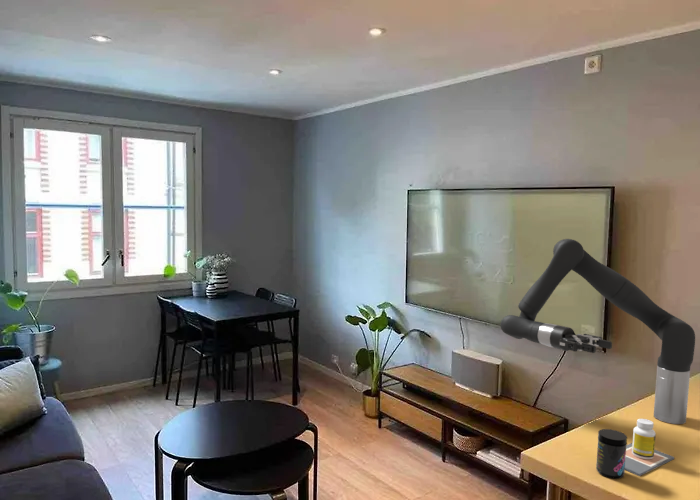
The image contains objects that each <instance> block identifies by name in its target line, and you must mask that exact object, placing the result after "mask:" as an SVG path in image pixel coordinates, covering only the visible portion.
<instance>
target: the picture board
mask: <svg viewBox="0 0 700 500" xmlns="http://www.w3.org/2000/svg"><path fill="white" fill-rule="evenodd" d="M673 460H675V456H672V455H670V454H668V453H666V452H665V453H664V452H662V451H660V450H657V449H655V448H654V457H653V459H641V458H638V457H636V456H634V455H633V454H632V442H630V443H627V444H626V459H625V471H626V472H629V473H631V474H633V475H635V476H638V477H641V476H643V475H645V474H647V473H650V472H651V471H653V470H655V469H657V468H659V467H662V466H663V465H665V464H667V463H669V462H671V461H673Z"/></svg>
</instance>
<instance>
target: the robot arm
mask: <svg viewBox="0 0 700 500" xmlns="http://www.w3.org/2000/svg"><path fill="white" fill-rule="evenodd" d="M552 252H553V256H552V258H551V260H550V262H549V264H548V266H547V268H546V269H545V270H544V271H543V272H542V274H541V275H540V277H538V278H537V280H536V281H535V282H534V283H533V284H532V285H531V286H530V287H529V289H528V290H527V292H526V293H525V294H524V296H523V297H522V298H521V300H520V301H519V303H518V305H517V308H518V309H519V311H520V313H519V315H513V314H508V315H505V316H504V317H503V318H502V319H501V321H500V325H499V326H500V329H501V330H502V332H503V333H504V334H505V335H508V336H510V337H512V338H514V339H517V340H521V339H525V340H528V341H529V342H533V343H537V344H541V345H543V346H546V347H549V348H551V349H552V348H553V349H556V350H561V351H565V352H567V351H572V352H576V353H577V352H583V351H584V352H587V353H591V354H595V353H596V352H597V351H596V350H597V348H598V347H600V348H604V349H608V350H610V349H612V347H613V342H612V341H609V340H605V339H603V337H602V336H598V335H593V334H587V333H583V334H581V333H577V334H576V333H575V330H574V329H573V328H571V327H568V326H563V325H561V324H560V325H559V324H553V323H546V322H541V321H536V318H537V315H538V314H539V312H540V311H541V310H542V308H543V307H544V306H545V304H546V303H547V301H548V300H549V298H550V297H551V296H552V294H553V292H554V291H555V290H556V289H557V287H558V286H559V285H560V283H561V282H562V281H563V280H564V278H566V276H567V275H568V274H569V273H570V272H571V271H573V272H575V273H576V274H578V275H579V276H581V278H583V279H584V280H585V281H586V282H587V283H588V284H590V285H591V287H593V288H594V289H595V290H596V291H597V292H598V293H599V294H600V295H602V296H603V298H605V299H606V301H608V302H610V303H611V304H612V305H614V307H617V308H618V309H620V310H622V311H623V312H624V313H626V314H628V315H630V316H632V317H633V318H635V319H637V320H639V321H640V322H641V323H643V324H644V325H646V327H647V328H649V329H650V330H651V331H652V332H653V333H654V334H655V335H656V336H657V337H658V338H659V339H660V340H661V349H660V351H661V352H660V355H659V357H657V364H656V365H657V366H656V378H655V393H654V405H653V417H654V418H655V419H656V420H659V421H660V422H664V423H668V424H674V425H682V424H685V423H687V416H688V415H687V413H688V400H689V388H690V376H691V365H692V364H693V361H694V356H695V347H696V332H695V330H694V329H693V327H692V326H691V325H690V324H689V323H688V322H686V321H684V320H682V319H680V318H678V316H675V315H673V314H672V313H670V312H668V311H666V310H665V309H663V308H662V307H660V306H659V305H658V304H656V303H655V302H654V301H653V300H652V299H651V298H650V297H649V296H648V295H647V294H646V293H645V292H644V291H642V289H640V288H639V287H638V286H637V285H636V284H635V283H633V282H632V281H631V280H630V279H628V278H627V277H626V276H624V275H622V274H620V273H619V272H617V271H616V270H614V269H613V268H610V267H608V265H607V266H606V265H605V264H603V263H601V262H600V261H598V260H597V259H595V258H594V257H593V256H592V255H591V254H589V252H587V251H586V250H585V249H584V247H583V245H582V243H580V242H579V241H577V240H575V239H571V238H563V239H561V240H559V241H558V242H556V244H555V245H554V247H553V250H552ZM596 347H597V348H596Z"/></svg>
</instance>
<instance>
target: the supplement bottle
mask: <svg viewBox="0 0 700 500" xmlns="http://www.w3.org/2000/svg"><path fill="white" fill-rule="evenodd" d="M632 432H633V434H632V442H631V443H632V454H633V455H634V456H636V457H638V458H641V459H653V457H654V449H655V447H656V446H655V445H656V435H657V433H656V431H655V430H654V421H652V420H649V419H646V418H638V419H637V420H636V425H635V427H633V430H632Z"/></svg>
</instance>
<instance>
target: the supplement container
mask: <svg viewBox="0 0 700 500" xmlns="http://www.w3.org/2000/svg"><path fill="white" fill-rule="evenodd" d="M597 433H598V434H597V451H596V464H595V465H596V467H595V468H596V471H597V472H598V474H600V475H601V476H603V477H605V478H609V479H616V480H617V479H618V480H619V479H621V478H623V477H624V476H625V471H626V470H625V459H626V445H628V436H627V435H626V433H623V432H621V431H618V430H615V429H612V428H611V429H610V428H603V429H599V430H598V432H597Z"/></svg>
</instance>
